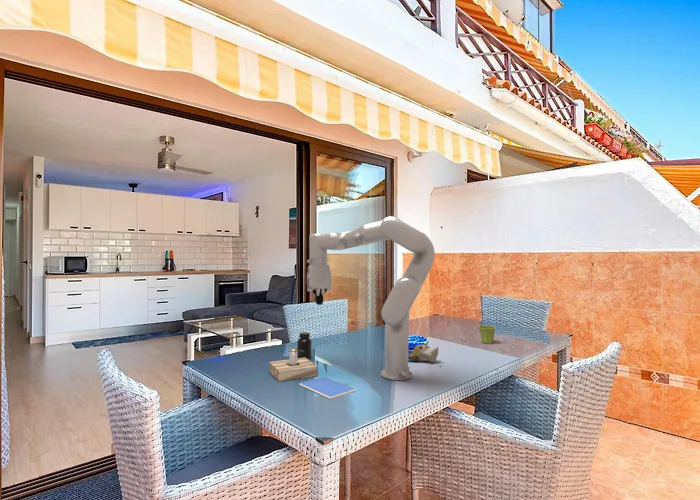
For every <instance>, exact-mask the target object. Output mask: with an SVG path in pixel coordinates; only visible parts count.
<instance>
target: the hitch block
mask: <svg viewBox="0 0 700 500" xmlns="http://www.w3.org/2000/svg"><path fill="white" fill-rule="evenodd" d="M318 367H319V366H318V365H317V364H315V363H314V362H312V361H311V359H309V360H308V359H307V358H297V366H289V359H283V360H276V361H269V373H270V374H271V376H273V377H274V378H275V379H276V380H277V381H278V382H279V383H280V382H281V381H282V382H286V380H288V381H294V380H293V379H295V380H300V379H299V378H301V379H305V378H306V379H308V378H311V377H312V378H313V376H314V377H318V375H319V374H318V373H319V372H318V371H319V370H318Z"/></svg>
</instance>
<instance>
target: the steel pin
mask: <svg viewBox="0 0 700 500" xmlns="http://www.w3.org/2000/svg"><path fill="white" fill-rule="evenodd" d="M288 353H289V356H288V357H289V359H288V360H289V366H297V348H289V352H288Z"/></svg>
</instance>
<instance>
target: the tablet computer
mask: <svg viewBox="0 0 700 500" xmlns="http://www.w3.org/2000/svg"><path fill="white" fill-rule="evenodd" d="M299 386H300V387H303V388H305V389H307V390H309V391H311V392H314V393H315V394H318V395H321V396H323V397H324V398H326V399H328V400H334V399H338V398H340V397H344V396H345V395H346V396H347V395H350V394H353V393H354V392H356V388H355V387H351V386H349V385H346V384H343V383H341V382H339V381H336V380H334V379H330V378H328V377H326V376H322V377H318V378H315V379H309V380H306V381H303V382H299Z"/></svg>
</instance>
